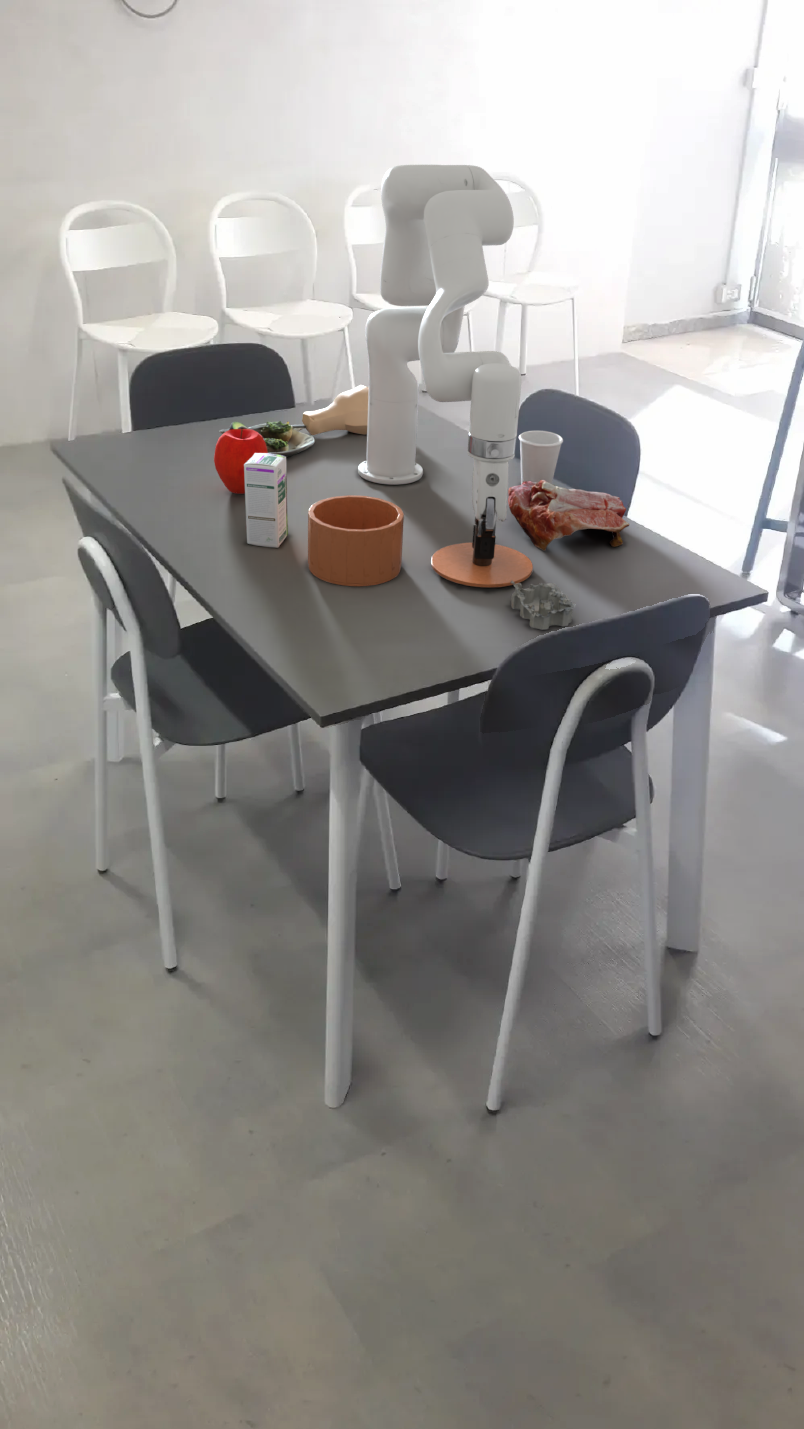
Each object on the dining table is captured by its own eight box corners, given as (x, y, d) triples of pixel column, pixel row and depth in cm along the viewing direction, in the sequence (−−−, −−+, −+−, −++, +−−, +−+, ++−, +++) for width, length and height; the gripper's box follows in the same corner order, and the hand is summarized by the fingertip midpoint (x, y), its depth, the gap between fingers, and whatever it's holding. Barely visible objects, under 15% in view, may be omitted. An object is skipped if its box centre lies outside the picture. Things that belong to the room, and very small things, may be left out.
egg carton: (505, 602, 199) (507, 578, 197) (549, 598, 201) (551, 574, 199) (531, 632, 190) (534, 608, 188) (577, 627, 192) (580, 603, 190)
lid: (428, 547, 216) (430, 505, 212) (525, 550, 217) (530, 508, 213) (433, 589, 201) (436, 545, 197) (538, 592, 202) (542, 547, 198)
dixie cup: (506, 482, 245) (511, 432, 240) (544, 478, 248) (549, 428, 243) (527, 497, 238) (532, 446, 233) (565, 493, 241) (571, 442, 236)
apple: (234, 506, 228) (232, 441, 222) (204, 489, 235) (201, 426, 228) (279, 494, 234) (278, 430, 228) (248, 479, 240) (246, 416, 234)
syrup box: (278, 548, 213) (278, 466, 205) (245, 544, 214) (243, 462, 206) (288, 535, 218) (287, 455, 210) (255, 531, 219) (253, 451, 211)
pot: (309, 546, 214) (309, 494, 209) (399, 549, 215) (402, 496, 210) (306, 585, 201) (306, 529, 196) (402, 587, 202) (405, 532, 197)
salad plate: (280, 423, 269) (280, 402, 267) (336, 446, 259) (336, 424, 256) (207, 441, 257) (206, 419, 255) (262, 465, 247) (262, 443, 244)
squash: (402, 434, 268) (404, 396, 262) (317, 454, 261) (316, 416, 255) (380, 410, 275) (380, 373, 269) (296, 430, 268) (294, 392, 262)
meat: (560, 500, 238) (566, 449, 233) (650, 535, 225) (658, 482, 220) (483, 526, 226) (488, 472, 220) (574, 565, 213) (581, 509, 207)
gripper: (521, 464, 191) (510, 574, 201) (509, 429, 205) (500, 534, 215) (472, 462, 191) (463, 573, 200) (463, 428, 205) (456, 533, 214)
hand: (482, 552), depth 207 cm, fingers closed on lid, 3 cm apart
